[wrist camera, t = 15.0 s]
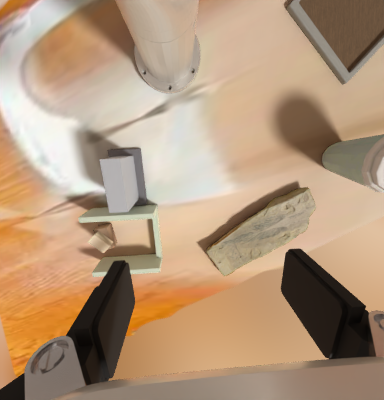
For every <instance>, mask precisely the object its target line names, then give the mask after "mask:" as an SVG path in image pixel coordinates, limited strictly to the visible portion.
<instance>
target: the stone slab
mask: <svg viewBox="0 0 384 400" xmlns="http://www.w3.org/2000/svg"><path fill="white" fill-rule="evenodd" d="M315 209H316V206H315V201H314V199H313V198H312V195H311V192H310V189H309V188H308V187H307V188H299V189H296V190H294V191H291V192H290V193H289V194H287V195H283V196H280V197H277V198H274V199H273V200H272V201H270V202H269V203H268V205H267V207H265V208H264V209H263V210H261V211H260V212H258V213H257V214H255V215H253V216H252V217H250V218H248V219H247V220H245V221H244V222H242V223H240V224H239V225H238V226H236V227H235V228H233V229H232V230H230V231H229V232H228V233H226V234H225V235H224V236H222V237H221V238H220V239H219V240H218V241H217V242H215V243H214V244H212V245H211V246H209V247H208V248H207V250H206V251H207V254H208V256H209V257H210V258H211V260H212V261H213V262H214V264H215V265H216V267H217V268H218V269H219V271H220V272H221V273H222V274H223V275H224V276H227V275H229V274H231V273H233V272H234V271H235V270H236V269H238V268H240V267H241V266H243V265H245V264H247V263H249V262H251V261H252V260H254V259H257V258H259V257H262V256H264V255H266V254H268V253H270V252H272V251H273V250H275V249H277V248H279V247H281V246H283V245H285V244H286V243H288V242H289V241H291V240H292V239H294V238H295V237H296V236H298V235H299V234H301V233H303V232H305V231H306V230H307V228H308V224H309V217H310V216H311V215H312V213H313V212H314V211H315Z"/></svg>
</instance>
